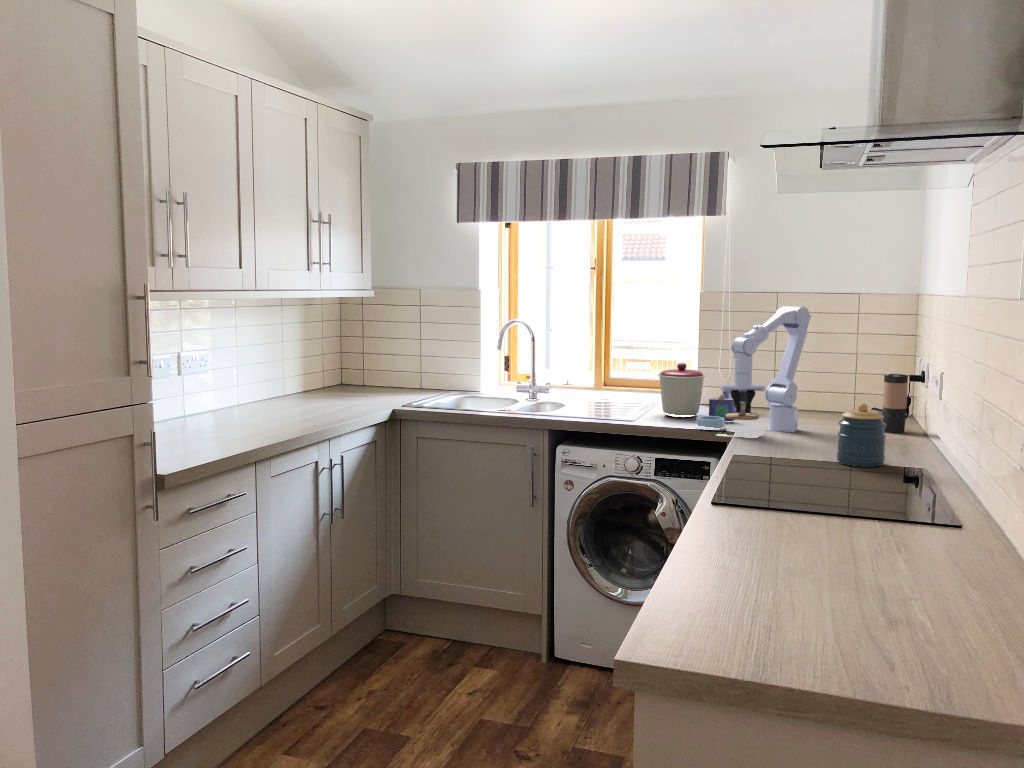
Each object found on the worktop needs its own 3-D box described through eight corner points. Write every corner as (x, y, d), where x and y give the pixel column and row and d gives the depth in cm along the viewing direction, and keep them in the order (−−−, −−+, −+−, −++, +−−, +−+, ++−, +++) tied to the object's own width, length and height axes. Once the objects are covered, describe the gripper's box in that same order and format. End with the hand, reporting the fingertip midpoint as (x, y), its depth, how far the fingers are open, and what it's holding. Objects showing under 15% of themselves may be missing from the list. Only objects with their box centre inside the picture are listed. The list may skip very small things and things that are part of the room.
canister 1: (695, 421, 325) (697, 365, 322) (650, 417, 334) (651, 363, 331) (710, 415, 341) (711, 361, 338) (666, 411, 350) (667, 359, 347)
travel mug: (907, 434, 298) (910, 376, 296) (883, 433, 300) (886, 376, 297) (902, 430, 306) (905, 374, 303) (879, 429, 307) (882, 373, 305)
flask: (732, 422, 324) (733, 393, 323) (734, 423, 321) (735, 394, 320) (708, 421, 325) (708, 393, 323) (709, 423, 322) (710, 394, 320)
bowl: (727, 428, 310) (727, 417, 310) (719, 432, 302) (719, 420, 302) (701, 425, 315) (701, 415, 315) (692, 429, 307) (692, 418, 307)
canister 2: (827, 462, 252) (830, 403, 250) (850, 456, 260) (853, 399, 258) (870, 470, 242) (873, 408, 240) (892, 463, 250) (896, 403, 248)
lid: (762, 417, 298) (762, 402, 298) (753, 421, 289) (754, 405, 288) (730, 414, 304) (731, 399, 303) (721, 418, 294) (721, 403, 294)
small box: (721, 411, 350) (721, 385, 348) (734, 410, 352) (734, 385, 351) (738, 415, 340) (739, 388, 339) (751, 414, 343) (752, 388, 341)
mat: (767, 433, 299) (767, 432, 299) (756, 440, 288) (756, 439, 288) (727, 430, 307) (727, 429, 307) (715, 436, 295) (715, 435, 295)
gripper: (761, 371, 298) (760, 410, 300) (719, 371, 299) (718, 410, 300) (767, 373, 291) (765, 413, 293) (724, 373, 292) (723, 413, 293)
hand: (742, 412), depth 296 cm, fingers closed on lid, 2 cm apart
